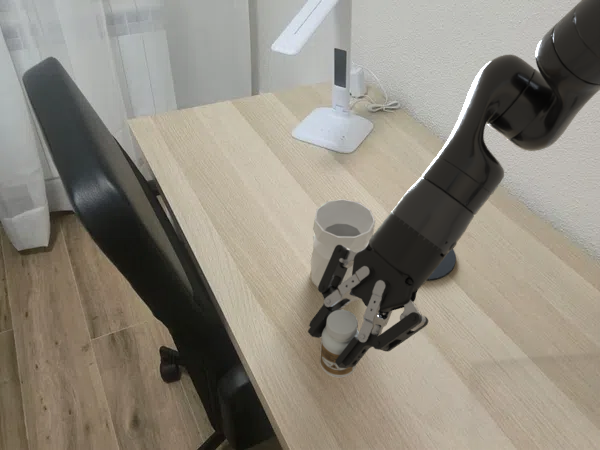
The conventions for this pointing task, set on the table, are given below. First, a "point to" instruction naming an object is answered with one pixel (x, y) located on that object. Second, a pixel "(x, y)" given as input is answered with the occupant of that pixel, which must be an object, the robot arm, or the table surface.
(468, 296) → the table surface
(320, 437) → the table surface
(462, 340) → the table surface
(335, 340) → the pill bottle
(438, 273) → the rubber mat
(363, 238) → the vase
